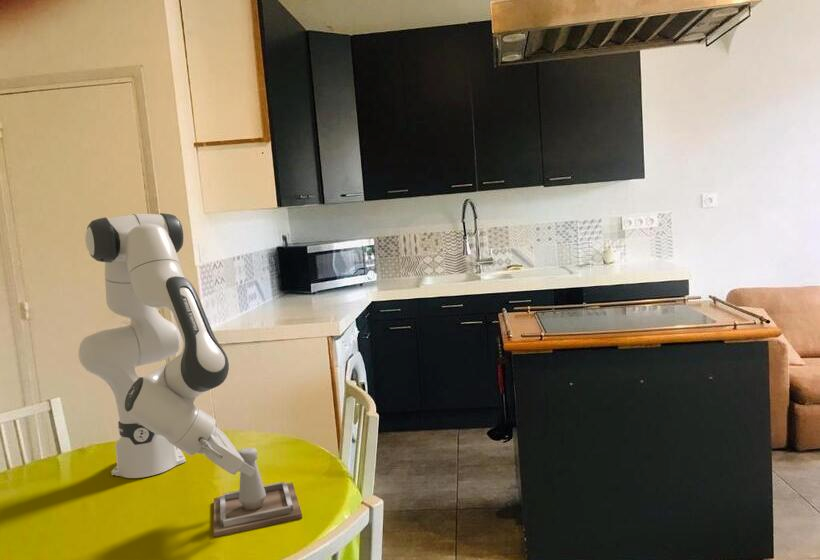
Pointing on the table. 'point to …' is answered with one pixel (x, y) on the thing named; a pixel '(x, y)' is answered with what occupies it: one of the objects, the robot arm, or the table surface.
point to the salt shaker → (251, 482)
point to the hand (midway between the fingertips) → (247, 465)
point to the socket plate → (273, 511)
